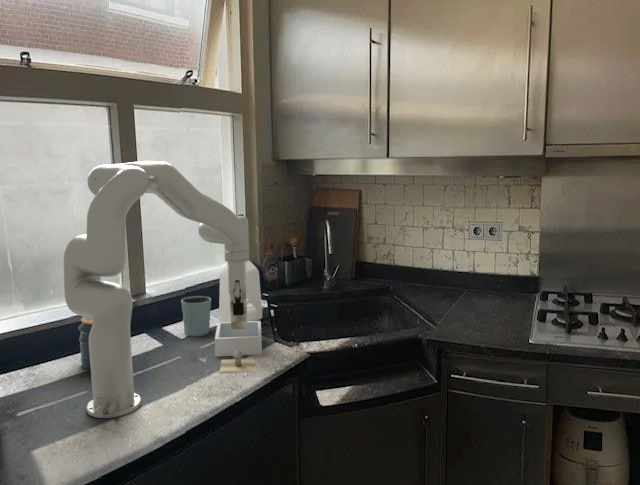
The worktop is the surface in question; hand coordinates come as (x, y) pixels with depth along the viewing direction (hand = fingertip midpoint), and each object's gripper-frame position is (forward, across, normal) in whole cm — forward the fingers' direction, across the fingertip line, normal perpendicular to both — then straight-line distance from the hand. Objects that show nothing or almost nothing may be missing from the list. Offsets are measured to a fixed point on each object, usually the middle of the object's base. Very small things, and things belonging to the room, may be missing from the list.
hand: (238, 311), depth 169 cm
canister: (+13, +5, -40) cm, 43 cm away
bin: (+13, 0, 0) cm, 13 cm away
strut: (+5, 0, 0) cm, 5 cm away
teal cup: (+13, -20, -15) cm, 28 cm away
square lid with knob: (+13, +16, 0) cm, 21 cm away
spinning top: (+13, -17, +2) cm, 21 cm away
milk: (+13, -32, 0) cm, 34 cm away
